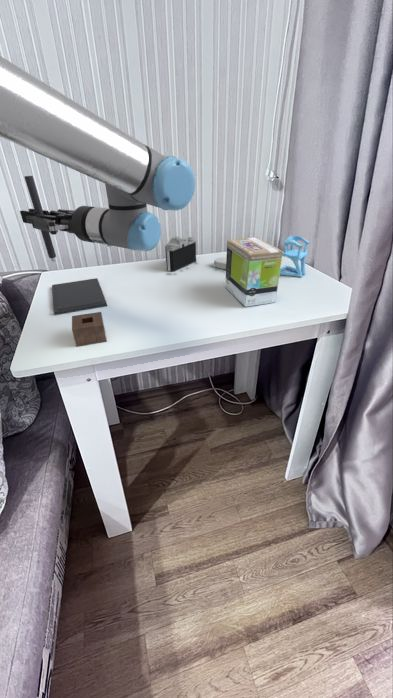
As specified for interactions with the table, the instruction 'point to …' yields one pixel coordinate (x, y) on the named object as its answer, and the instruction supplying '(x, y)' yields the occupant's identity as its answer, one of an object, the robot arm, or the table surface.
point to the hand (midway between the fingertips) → (27, 215)
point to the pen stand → (88, 329)
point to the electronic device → (220, 263)
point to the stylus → (38, 207)
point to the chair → (295, 256)
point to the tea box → (252, 270)
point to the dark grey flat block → (77, 296)
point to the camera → (180, 253)
